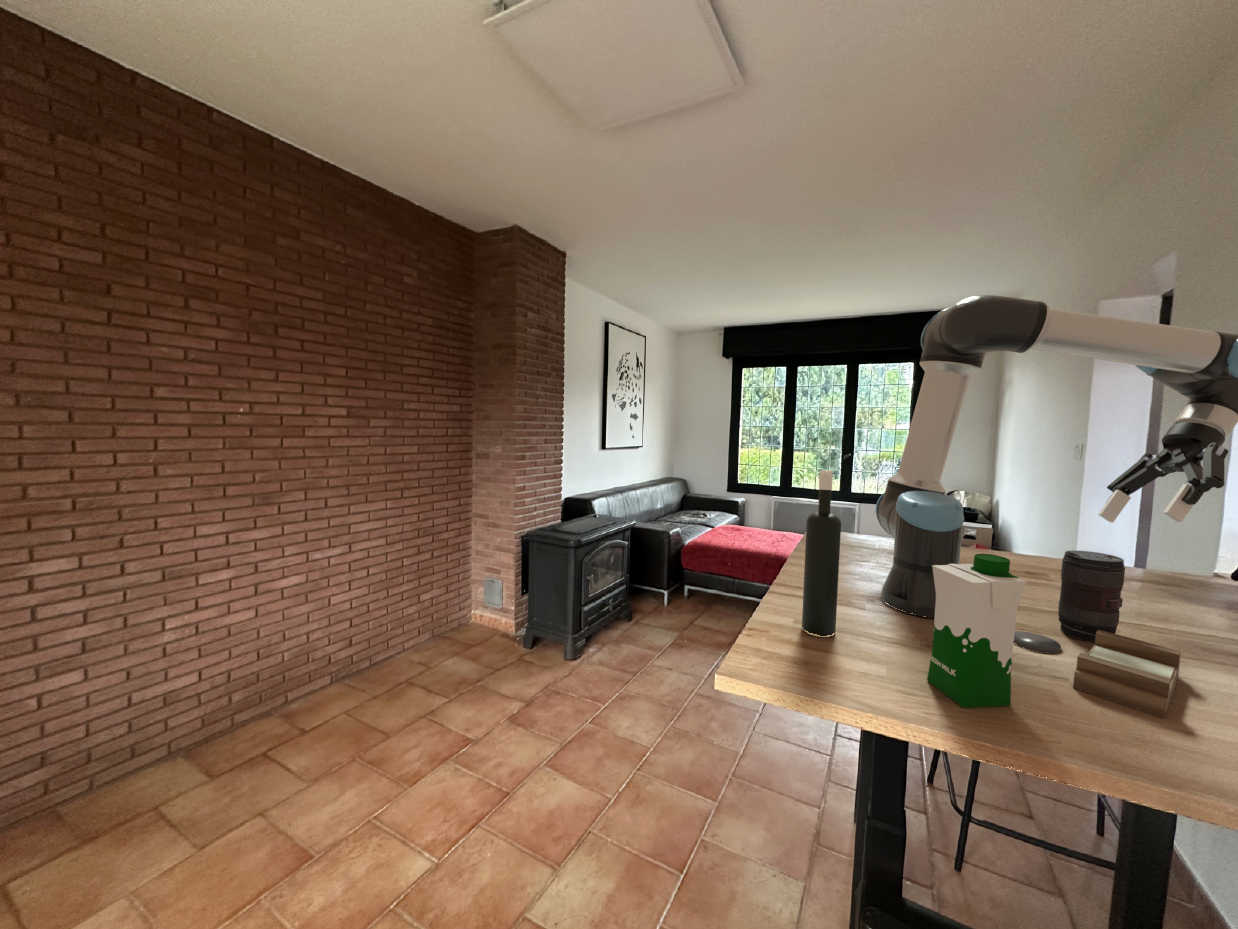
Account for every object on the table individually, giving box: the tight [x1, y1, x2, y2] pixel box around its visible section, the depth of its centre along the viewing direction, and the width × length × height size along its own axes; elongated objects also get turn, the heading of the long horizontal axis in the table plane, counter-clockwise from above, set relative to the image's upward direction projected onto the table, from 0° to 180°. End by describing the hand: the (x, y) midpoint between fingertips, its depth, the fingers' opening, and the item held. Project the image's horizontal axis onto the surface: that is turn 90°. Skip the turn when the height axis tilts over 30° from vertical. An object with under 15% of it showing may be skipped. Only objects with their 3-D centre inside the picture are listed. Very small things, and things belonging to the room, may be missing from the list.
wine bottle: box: [801, 469, 842, 636], centre depth 88 cm, size 6×6×30 cm
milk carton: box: [926, 553, 1027, 709], centre depth 69 cm, size 9×9×20 cm
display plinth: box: [1072, 630, 1182, 719], centre depth 72 cm, size 17×9×4 cm, turn 127°
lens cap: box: [1014, 630, 1062, 654], centre depth 85 cm, size 7×7×1 cm
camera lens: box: [1057, 550, 1126, 644], centre depth 87 cm, size 8×8×15 cm
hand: (1136, 518), depth 94 cm, fingers open, 13 cm apart
